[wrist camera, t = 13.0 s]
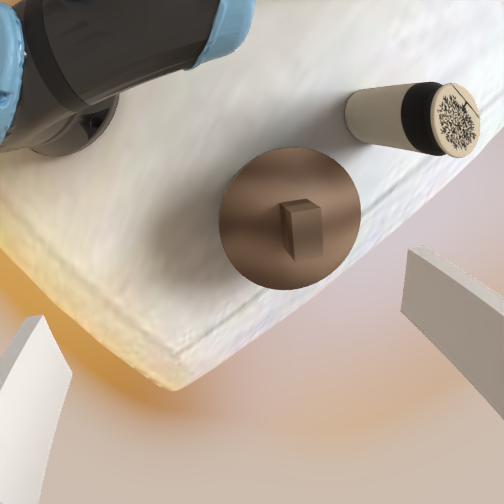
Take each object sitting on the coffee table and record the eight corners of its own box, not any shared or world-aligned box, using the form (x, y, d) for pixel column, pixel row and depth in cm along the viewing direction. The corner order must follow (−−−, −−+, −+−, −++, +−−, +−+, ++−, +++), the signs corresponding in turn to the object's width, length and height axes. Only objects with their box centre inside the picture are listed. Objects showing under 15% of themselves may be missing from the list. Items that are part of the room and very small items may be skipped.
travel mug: (371, 154, 42) (460, 177, 26) (333, 117, 39) (418, 118, 23) (399, 116, 41) (490, 123, 24) (364, 78, 38) (453, 64, 21)
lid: (207, 158, 31) (210, 163, 26) (352, 141, 33) (377, 145, 28) (230, 297, 37) (237, 322, 32) (355, 270, 39) (376, 289, 34)
